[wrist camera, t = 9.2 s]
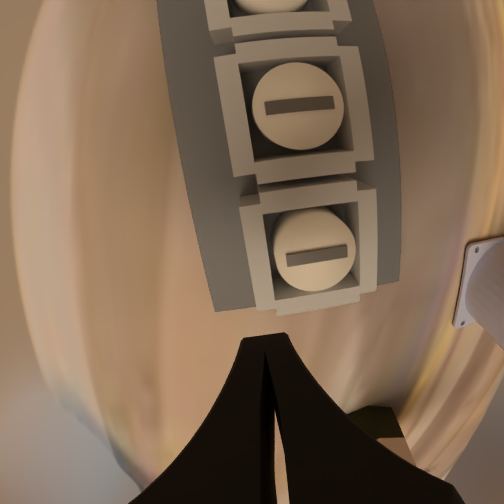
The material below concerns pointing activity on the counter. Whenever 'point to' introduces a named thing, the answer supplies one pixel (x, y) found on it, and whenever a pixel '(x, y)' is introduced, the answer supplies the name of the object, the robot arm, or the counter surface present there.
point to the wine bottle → (383, 429)
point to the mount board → (278, 157)
